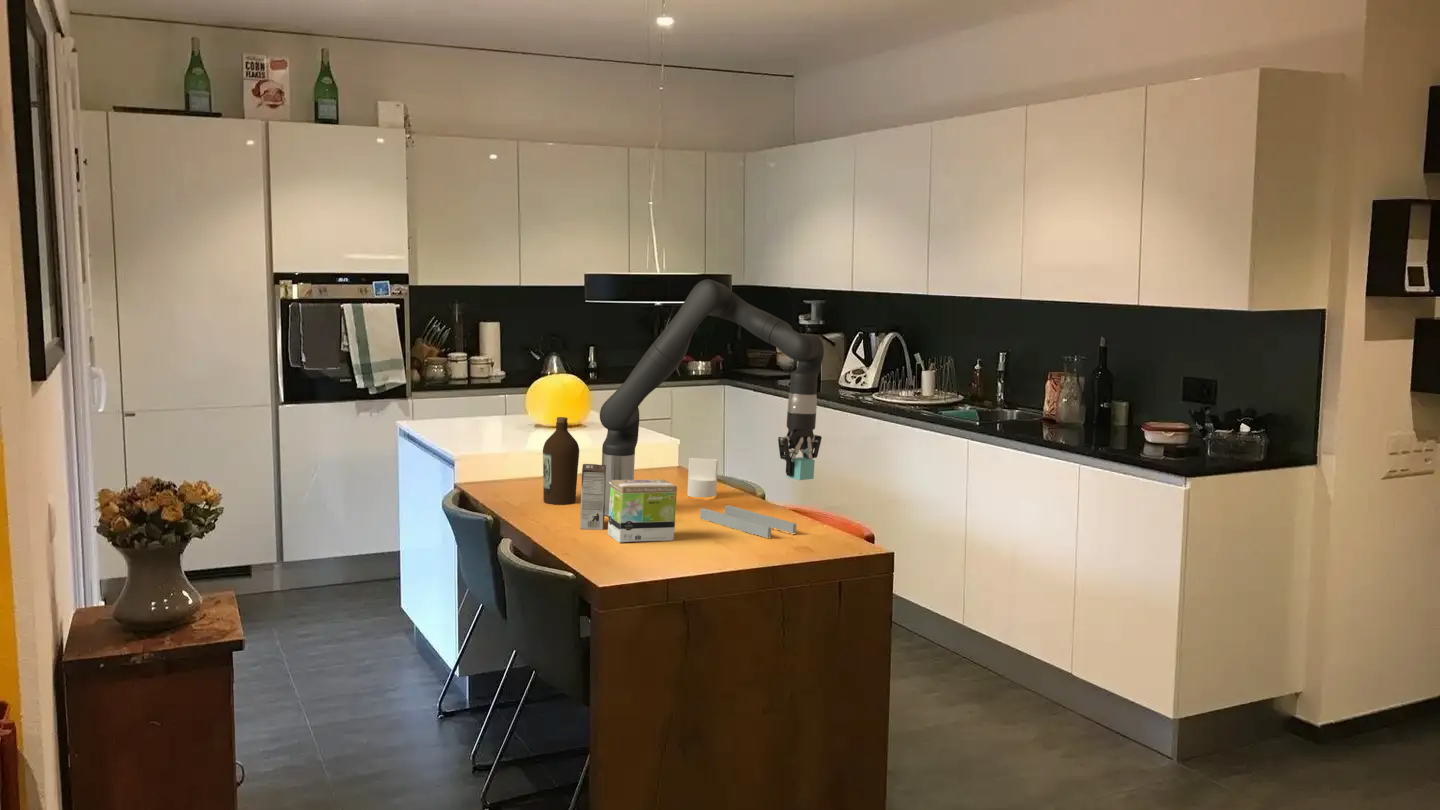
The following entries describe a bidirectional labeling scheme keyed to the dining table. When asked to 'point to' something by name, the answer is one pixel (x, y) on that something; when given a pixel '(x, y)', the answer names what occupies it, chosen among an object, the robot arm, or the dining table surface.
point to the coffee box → (593, 496)
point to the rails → (747, 521)
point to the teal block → (803, 469)
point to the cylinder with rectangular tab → (702, 477)
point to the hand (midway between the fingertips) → (797, 474)
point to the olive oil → (560, 466)
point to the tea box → (642, 510)
